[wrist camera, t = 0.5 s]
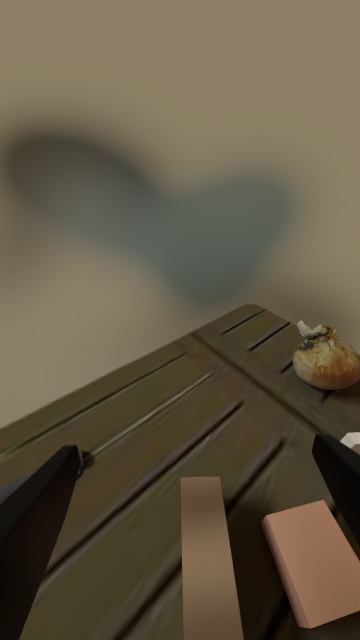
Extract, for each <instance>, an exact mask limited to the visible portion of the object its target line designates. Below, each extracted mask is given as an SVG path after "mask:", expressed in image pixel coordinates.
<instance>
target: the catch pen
mask: <svg viewBox="0 0 360 640" xmlns="http://www.w3.org/2000/svg"><path fill="white" fill-rule="evenodd" d="M340 442H342V443H343V444H345V445H346V446H348V447H349V448H351V449H352V450H354V451H355V452H357V453H358V454H360V432H359V433H347V434H346V435H345V437H344V438H343V439H342V440H341V441H340Z"/></svg>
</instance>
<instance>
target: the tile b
mask: <svg viewBox="0 0 360 640" xmlns="http://www.w3.org/2000/svg"><path fill="white" fill-rule="evenodd" d="M260 523H261V526H262V529H263V531H264V534H265V537H266V540H267V542H268V545H269V548H270V550H271V553H272V556H273V559H274V561H275V564H276V567H277V570H278V572H279V575H280V578H281V581H282V583H283V586H284V589H285V591H286V594H287V597H288V600H289V602H290V605H291V608H292V611H293V613H294V616H295V619H296V621H297V624H298V627H303V628H310V629H311V628H314V627H316V626H319V625H322V624H324V623H327V622H330V621H333V620H335V619H338V618H341V617H343V616H346V615H349V614H351V613H354V612H357V611H359V610H360V562H359V560H358V558H357V556H356V555H355V553H354V551H353V550H352V548H351V546H350V544H349V543H348V541H347V539H346V538H345V536H344V534H343V532H342V531H341V529H340V527H339V526H338V524H337V522H336V520H335V519H334V517H333V515H332V514H331V512H330V510H329V508H328V507H327V505H326V503H325V501H324V500H321V501H317V502H314V503H310V504H306V505H303V506H299V507H295V508H292V509H288V510H284V511H281V512H277V513H273V514H270V515H266V516H265V518H264V519H263V520H262V521H261V522H260Z"/></svg>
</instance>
